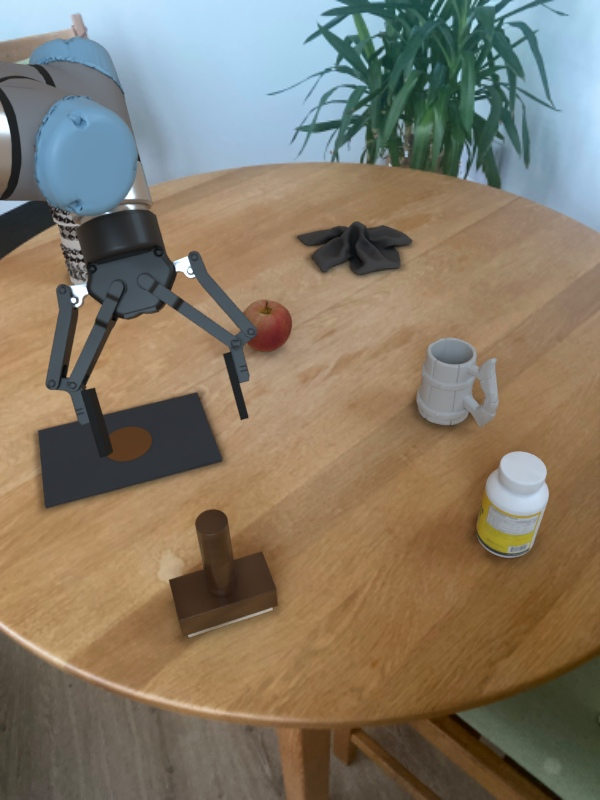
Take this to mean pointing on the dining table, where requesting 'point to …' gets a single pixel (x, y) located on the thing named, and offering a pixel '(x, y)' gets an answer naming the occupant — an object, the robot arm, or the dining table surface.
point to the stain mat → (126, 449)
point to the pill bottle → (513, 505)
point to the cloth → (357, 247)
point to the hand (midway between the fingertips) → (176, 436)
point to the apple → (268, 324)
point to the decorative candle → (70, 245)
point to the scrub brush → (221, 582)
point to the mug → (455, 384)
